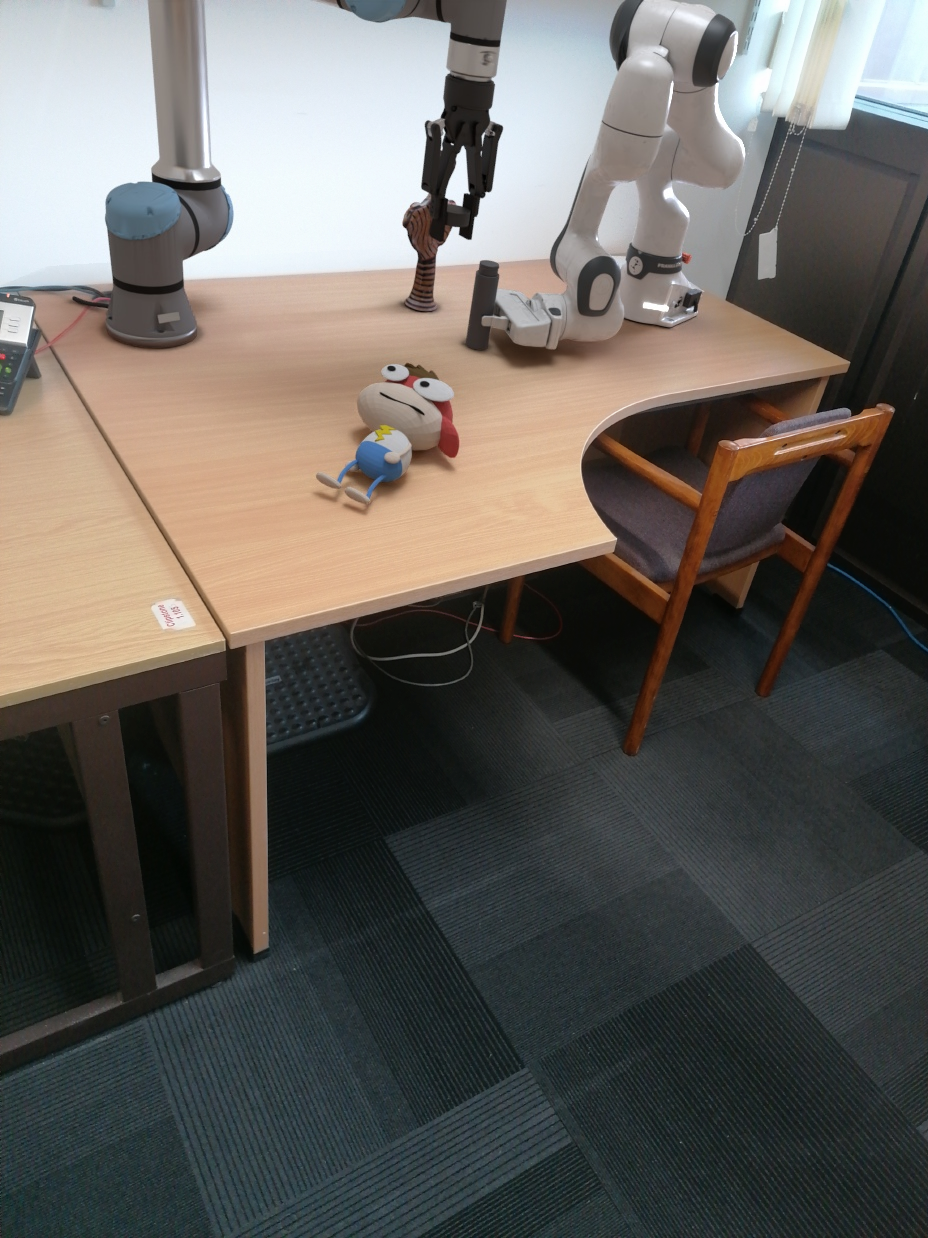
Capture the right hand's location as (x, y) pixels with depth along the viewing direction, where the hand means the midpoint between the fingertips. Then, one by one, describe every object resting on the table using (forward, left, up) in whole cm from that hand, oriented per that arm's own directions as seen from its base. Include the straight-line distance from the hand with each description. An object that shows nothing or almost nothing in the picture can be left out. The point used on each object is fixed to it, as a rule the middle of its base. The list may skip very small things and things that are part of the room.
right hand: (477, 313), depth 170 cm
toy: (+43, +29, -6) cm, 52 cm away
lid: (+16, +7, +22) cm, 28 cm away
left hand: (+16, +7, +18) cm, 25 cm away
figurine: (-3, -20, -6) cm, 21 cm away
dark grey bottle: (-1, 0, -6) cm, 6 cm away
